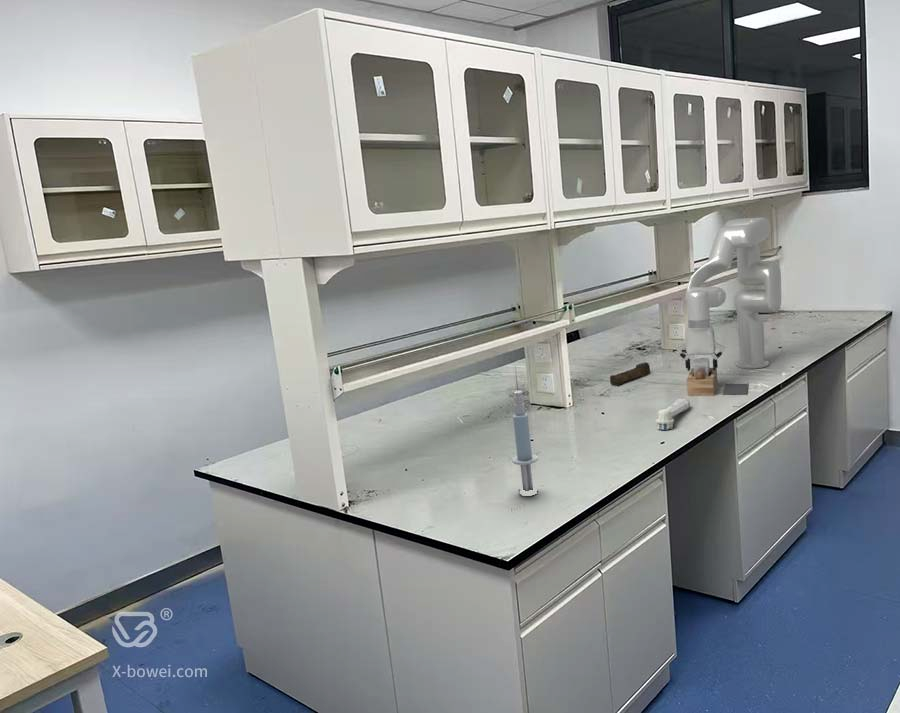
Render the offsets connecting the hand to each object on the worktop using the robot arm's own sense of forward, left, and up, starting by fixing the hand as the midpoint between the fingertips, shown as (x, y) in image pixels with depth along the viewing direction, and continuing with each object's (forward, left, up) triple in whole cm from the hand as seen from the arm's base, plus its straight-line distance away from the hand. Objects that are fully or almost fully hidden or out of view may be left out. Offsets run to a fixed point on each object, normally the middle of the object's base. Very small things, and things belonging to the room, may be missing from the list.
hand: (701, 369), depth 264 cm
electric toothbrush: (+37, -6, -8) cm, 38 cm away
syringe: (+103, -35, -8) cm, 109 cm away
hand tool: (-16, -29, -8) cm, 35 cm away
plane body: (0, 0, -8) cm, 8 cm away
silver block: (0, 0, -5) cm, 5 cm away
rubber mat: (+1, +12, -8) cm, 14 cm away
